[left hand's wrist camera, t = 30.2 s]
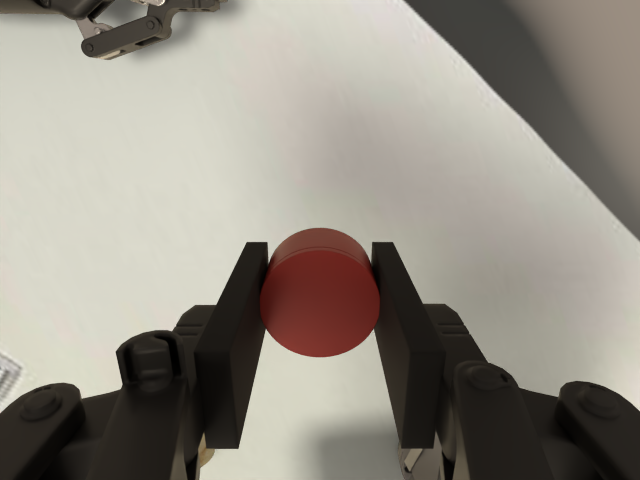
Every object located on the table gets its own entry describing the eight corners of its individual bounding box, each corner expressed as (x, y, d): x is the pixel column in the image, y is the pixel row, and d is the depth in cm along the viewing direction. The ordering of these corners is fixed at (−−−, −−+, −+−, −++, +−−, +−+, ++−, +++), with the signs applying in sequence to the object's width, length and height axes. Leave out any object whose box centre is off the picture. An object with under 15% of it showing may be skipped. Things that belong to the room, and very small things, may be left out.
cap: (366, 324, 15) (374, 360, 13) (266, 319, 15) (258, 354, 13) (377, 230, 14) (387, 253, 12) (267, 224, 14) (259, 247, 12)
